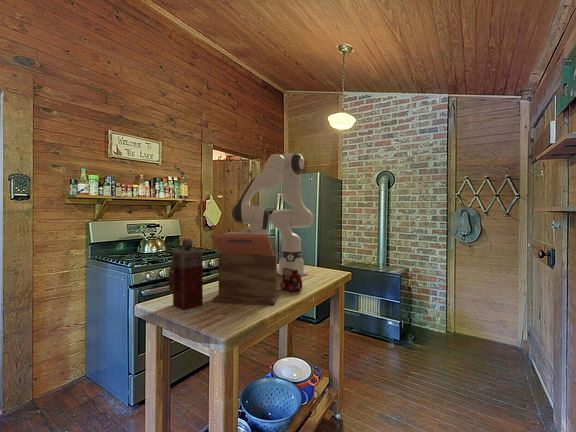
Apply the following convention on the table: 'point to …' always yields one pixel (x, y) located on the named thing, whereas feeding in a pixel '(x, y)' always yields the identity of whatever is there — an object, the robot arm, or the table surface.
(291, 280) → the dark red lumpy cluster
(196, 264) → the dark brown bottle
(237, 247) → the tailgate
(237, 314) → the table surface
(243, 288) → the wooden box
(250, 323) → the table surface
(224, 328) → the table surface
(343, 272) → the table surface
